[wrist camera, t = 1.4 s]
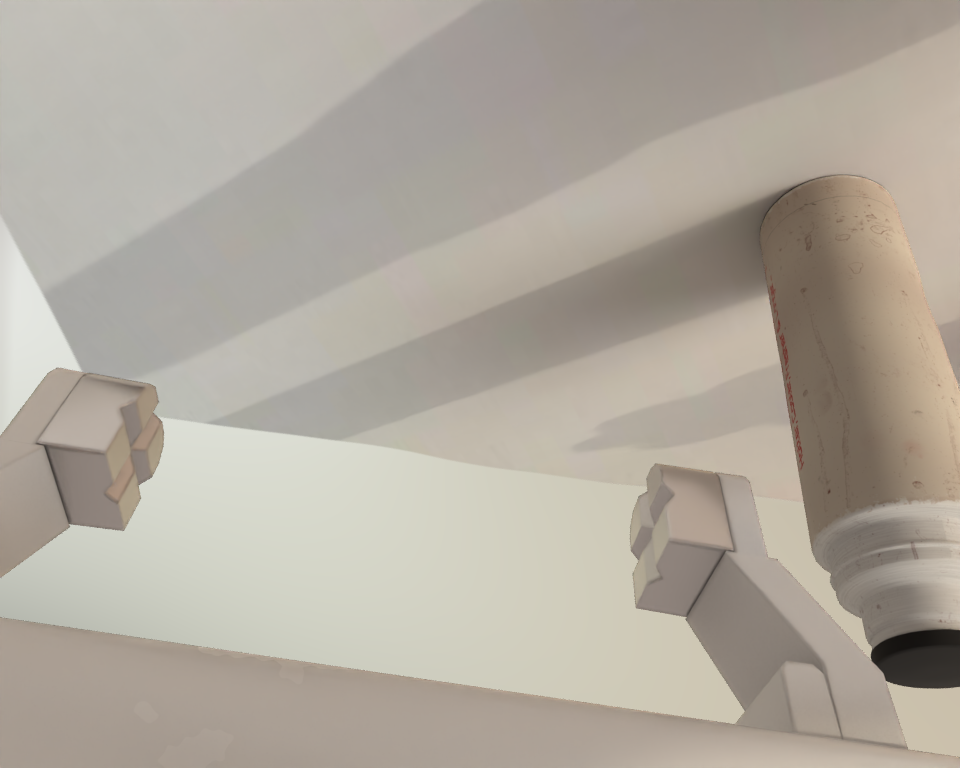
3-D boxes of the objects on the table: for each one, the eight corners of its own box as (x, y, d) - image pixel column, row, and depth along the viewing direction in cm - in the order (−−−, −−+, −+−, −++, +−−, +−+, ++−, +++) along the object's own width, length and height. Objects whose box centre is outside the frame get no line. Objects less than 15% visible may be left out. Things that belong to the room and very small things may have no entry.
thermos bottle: (768, 284, 54) (839, 707, 37) (750, 193, 48) (825, 640, 31) (897, 258, 51) (1042, 703, 34) (894, 158, 46) (1066, 630, 28)
